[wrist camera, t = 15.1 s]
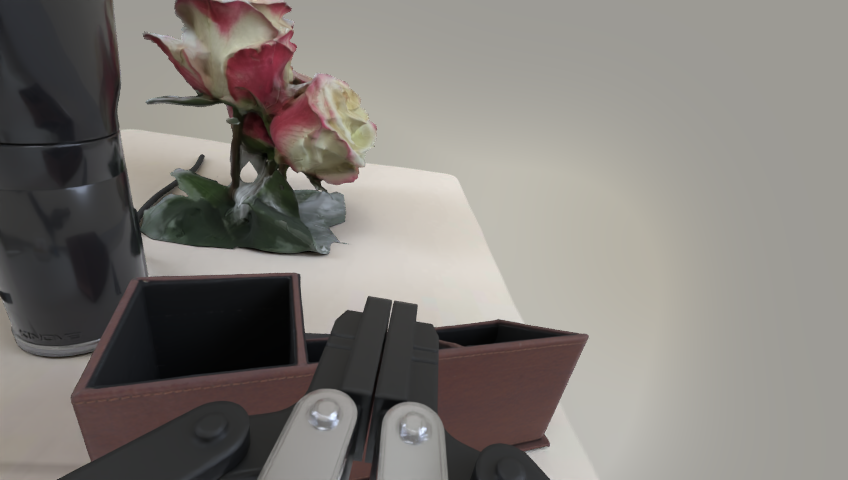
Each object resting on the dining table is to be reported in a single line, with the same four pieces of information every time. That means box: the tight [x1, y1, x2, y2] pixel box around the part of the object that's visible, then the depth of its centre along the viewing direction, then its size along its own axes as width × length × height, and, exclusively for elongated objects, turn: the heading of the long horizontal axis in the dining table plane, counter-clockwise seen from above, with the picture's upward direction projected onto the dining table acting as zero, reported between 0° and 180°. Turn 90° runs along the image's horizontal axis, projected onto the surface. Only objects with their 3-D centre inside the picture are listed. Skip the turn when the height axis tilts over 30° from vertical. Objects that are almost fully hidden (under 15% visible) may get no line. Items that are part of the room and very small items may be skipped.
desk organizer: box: [71, 273, 589, 480], centre depth 28 cm, size 10×29×11 cm, turn 109°
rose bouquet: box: [140, 0, 377, 254], centre depth 54 cm, size 26×29×30 cm
